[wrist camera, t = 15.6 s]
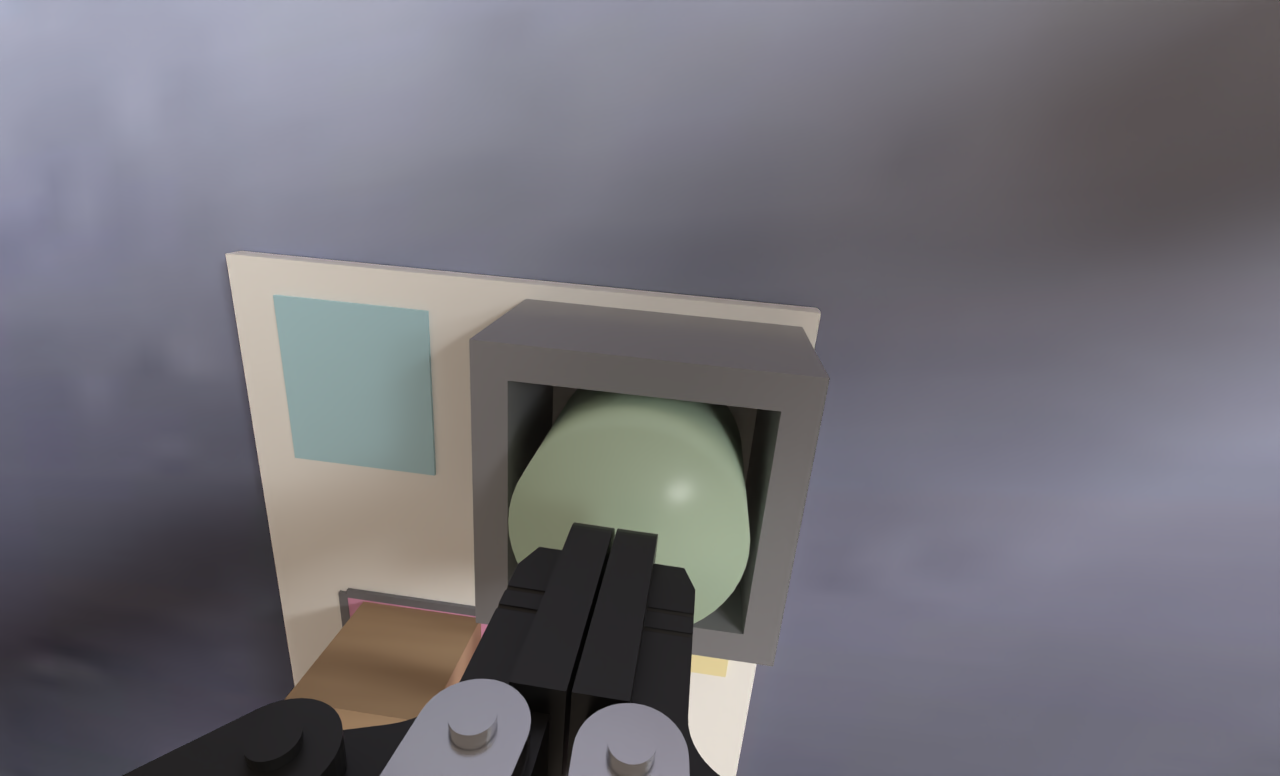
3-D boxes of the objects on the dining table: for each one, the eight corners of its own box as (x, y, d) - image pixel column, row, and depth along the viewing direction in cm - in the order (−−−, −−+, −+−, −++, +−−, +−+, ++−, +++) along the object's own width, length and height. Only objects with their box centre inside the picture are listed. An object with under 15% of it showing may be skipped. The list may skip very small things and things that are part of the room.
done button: (557, 352, 16) (508, 411, 12) (754, 373, 15) (767, 442, 12) (552, 520, 17) (508, 618, 14) (729, 543, 17) (732, 651, 13)
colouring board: (241, 250, 17) (222, 254, 17) (817, 307, 16) (821, 314, 15) (323, 799, 25) (313, 816, 24) (715, 867, 24) (715, 888, 23)
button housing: (525, 298, 16) (468, 339, 12) (802, 327, 16) (829, 378, 12) (523, 530, 19) (475, 622, 15) (761, 562, 18) (772, 666, 14)
